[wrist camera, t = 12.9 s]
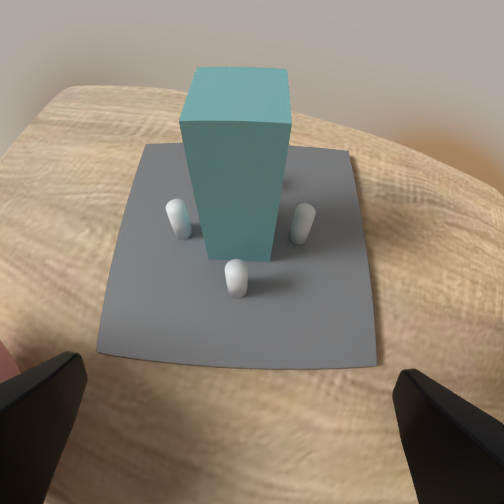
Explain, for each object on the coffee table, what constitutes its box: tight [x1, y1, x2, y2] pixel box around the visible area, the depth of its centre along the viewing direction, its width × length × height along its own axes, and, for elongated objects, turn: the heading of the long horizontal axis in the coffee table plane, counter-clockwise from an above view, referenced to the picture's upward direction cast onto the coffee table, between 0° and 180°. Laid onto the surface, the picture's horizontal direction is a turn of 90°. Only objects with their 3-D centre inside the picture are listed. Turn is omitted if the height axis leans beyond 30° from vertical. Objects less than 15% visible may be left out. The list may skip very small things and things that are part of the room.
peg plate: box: [96, 143, 377, 370], centre depth 23 cm, size 20×20×4 cm
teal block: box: [179, 67, 292, 262], centre depth 18 cm, size 4×4×13 cm
